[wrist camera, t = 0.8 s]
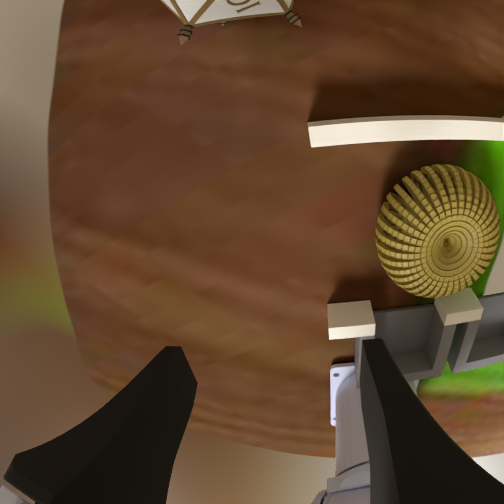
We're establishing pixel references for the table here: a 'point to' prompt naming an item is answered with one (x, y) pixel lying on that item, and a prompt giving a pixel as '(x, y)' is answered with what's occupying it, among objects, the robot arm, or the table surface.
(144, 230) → the table surface
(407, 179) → the sculpture
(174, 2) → the game die
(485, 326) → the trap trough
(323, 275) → the table surface
